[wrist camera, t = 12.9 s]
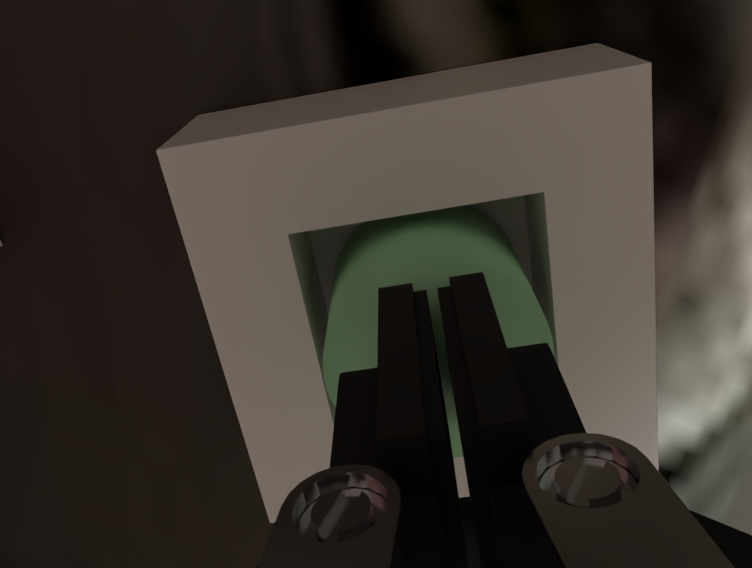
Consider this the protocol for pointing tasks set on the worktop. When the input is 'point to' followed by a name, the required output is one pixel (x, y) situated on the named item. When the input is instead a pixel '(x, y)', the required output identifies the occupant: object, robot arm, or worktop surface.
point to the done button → (425, 288)
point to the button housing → (421, 194)
